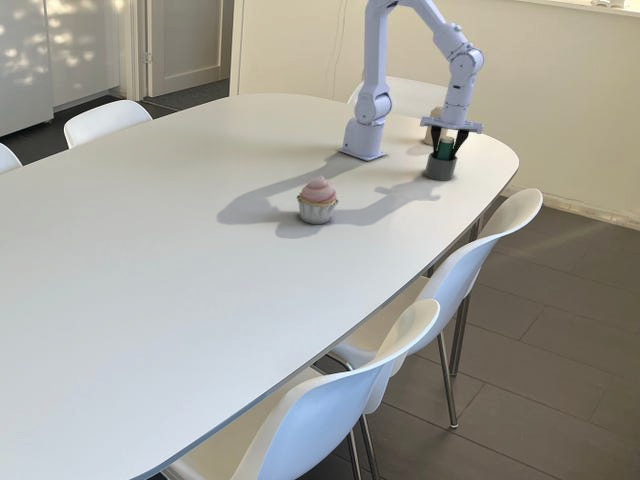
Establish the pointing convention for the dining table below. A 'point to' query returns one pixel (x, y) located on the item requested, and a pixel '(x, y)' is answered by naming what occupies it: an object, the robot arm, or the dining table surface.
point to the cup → (440, 168)
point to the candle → (428, 138)
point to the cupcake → (317, 201)
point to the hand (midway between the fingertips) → (442, 157)
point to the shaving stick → (445, 148)
